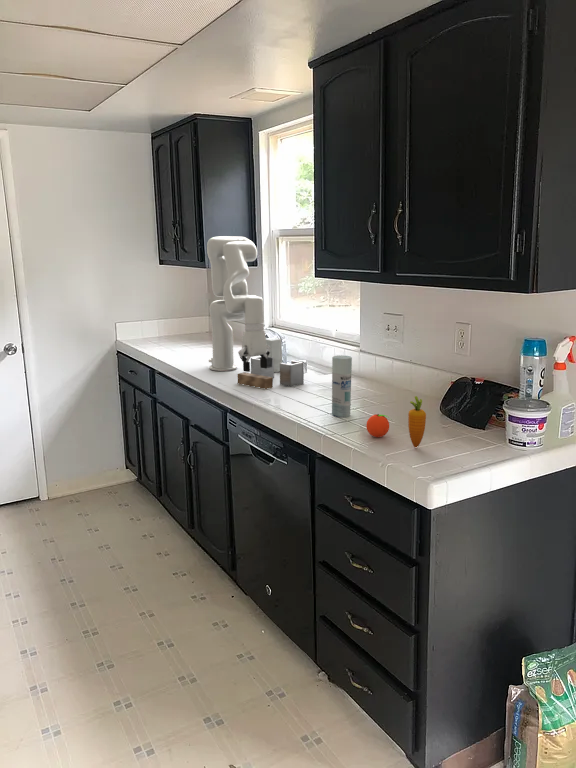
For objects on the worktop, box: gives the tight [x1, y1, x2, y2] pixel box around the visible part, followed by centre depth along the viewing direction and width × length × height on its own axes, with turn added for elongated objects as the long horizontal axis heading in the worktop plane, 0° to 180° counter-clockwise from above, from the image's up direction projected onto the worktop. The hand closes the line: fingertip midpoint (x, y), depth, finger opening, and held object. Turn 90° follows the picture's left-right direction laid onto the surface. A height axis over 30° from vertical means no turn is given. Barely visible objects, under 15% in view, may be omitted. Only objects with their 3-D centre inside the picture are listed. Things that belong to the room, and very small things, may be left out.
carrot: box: [407, 396, 427, 448], centre depth 184 cm, size 5×5×15 cm
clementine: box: [365, 413, 392, 438], centre depth 195 cm, size 8×7×7 cm
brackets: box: [250, 355, 305, 388], centre depth 272 cm, size 23×8×9 cm, turn 47°
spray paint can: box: [331, 354, 353, 418], centre depth 218 cm, size 6×6×20 cm
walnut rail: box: [237, 371, 274, 390], centre depth 264 cm, size 16×4×4 cm, turn 49°
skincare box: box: [266, 337, 283, 373], centre depth 293 cm, size 8×6×15 cm
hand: (255, 369), depth 263 cm, fingers open, 9 cm apart
